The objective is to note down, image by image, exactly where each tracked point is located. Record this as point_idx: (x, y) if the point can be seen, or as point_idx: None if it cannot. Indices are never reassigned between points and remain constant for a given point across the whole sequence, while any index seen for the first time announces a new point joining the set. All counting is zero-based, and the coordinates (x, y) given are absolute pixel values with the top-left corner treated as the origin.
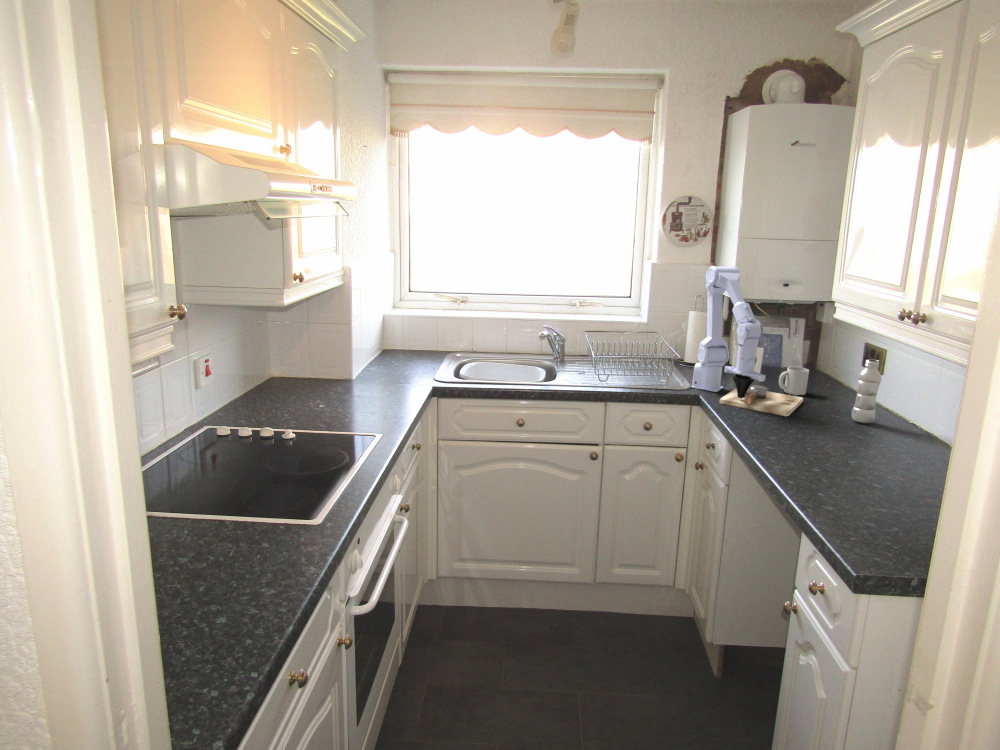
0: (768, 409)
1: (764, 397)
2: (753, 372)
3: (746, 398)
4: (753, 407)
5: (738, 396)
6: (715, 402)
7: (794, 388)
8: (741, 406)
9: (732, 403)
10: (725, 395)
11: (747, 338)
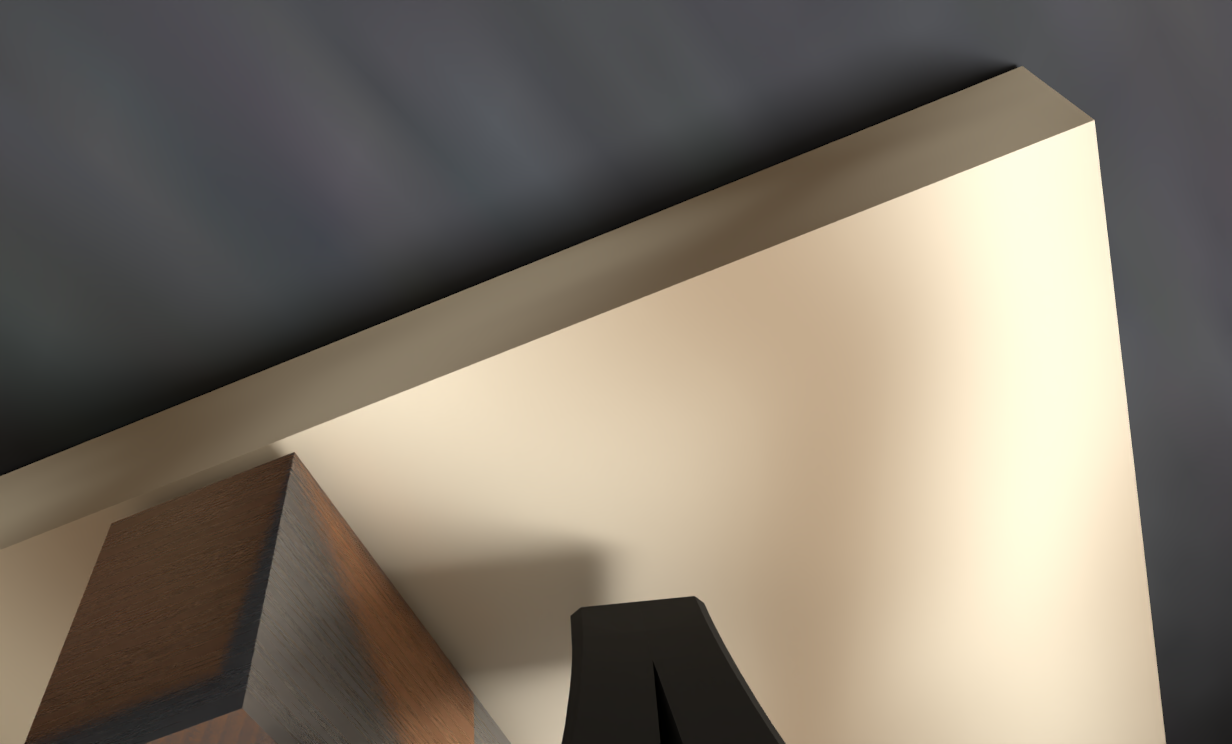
0: None
1: None
2: None
3: (212, 593)
4: (40, 497)
5: (676, 616)
6: (1152, 32)
7: None
8: (368, 346)
9: (636, 258)
10: (1132, 548)
11: None
